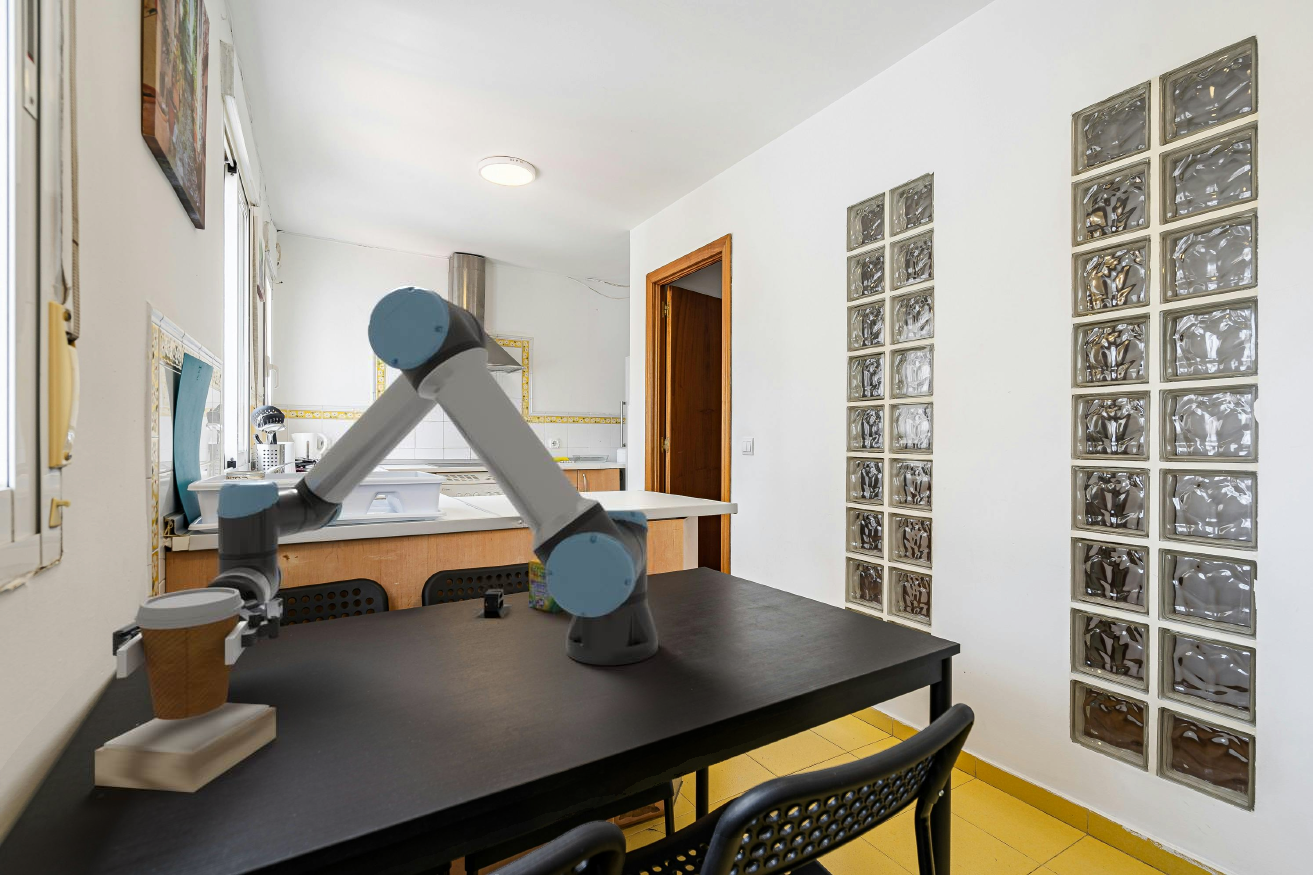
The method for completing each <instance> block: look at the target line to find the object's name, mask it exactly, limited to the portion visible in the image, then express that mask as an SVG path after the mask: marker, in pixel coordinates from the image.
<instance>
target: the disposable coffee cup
mask: <svg viewBox="0 0 1313 875" xmlns="http://www.w3.org/2000/svg"><path fill="white" fill-rule="evenodd" d="M243 606H244V601H243V600H242V599H241V596H240V593H239V590H237V589H233V588H205V587H203V588H202V587H201V588H191V589H186V590H185V589H184V590H178V591H174V592H173V591H172V592H168V593H163V594H159V595H155V596H152V597H150V598H147V599H144V600H143V601H141V602H140V604H139V608H138V611H137V613H136V614H134V616H133V620H134V622H136V621H137V625H138V626H139V627H140V630H141V635H142V641H143V647H144V654H145V665H146V671H147V672H146V673H147V677H148V678H147V680H148V684H149V692H150V696H151V703H152V709H153V715H154V718H158V719H162V720H177V719H184V718H190V717H195V716H198V715H202V714H205V713H207V712H210V711H212V710H215V709H217V708H219V707H220V706H222V705H223V704H224V703H227V700H228V692H229V685H230V679H231V678H230V677H231V671H232V665H233V664H229V665H225V639H226V638H227V636H228V635H229V634H230V633H231V632H232V630H233V629H234V628H235V627H236V626H237V625H238V619H239V613H240V612H241V610H242V607H243Z"/></svg>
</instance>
